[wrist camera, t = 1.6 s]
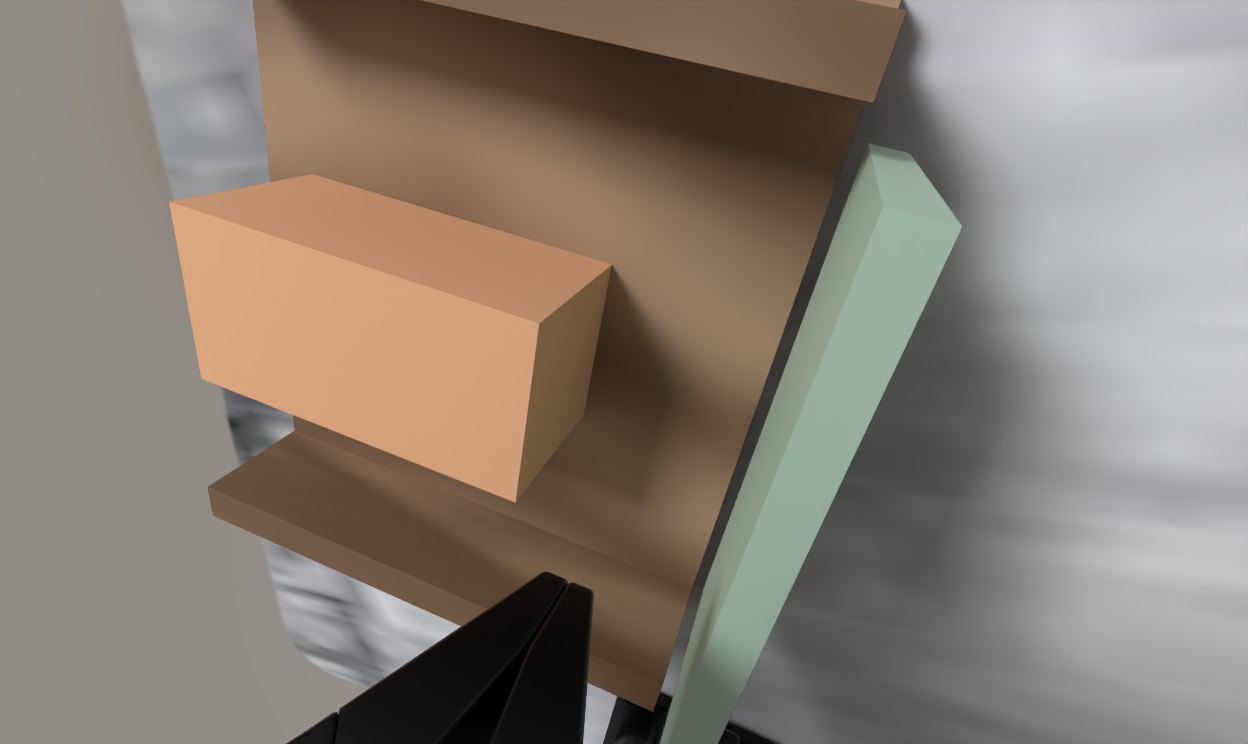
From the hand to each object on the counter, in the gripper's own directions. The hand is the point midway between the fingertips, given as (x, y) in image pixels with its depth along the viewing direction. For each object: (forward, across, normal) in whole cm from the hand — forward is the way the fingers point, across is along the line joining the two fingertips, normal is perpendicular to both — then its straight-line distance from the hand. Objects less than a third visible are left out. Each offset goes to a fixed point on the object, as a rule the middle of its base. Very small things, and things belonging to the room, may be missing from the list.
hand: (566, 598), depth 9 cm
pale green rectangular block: (+8, -2, 0) cm, 8 cm away
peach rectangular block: (+8, +7, 0) cm, 10 cm away
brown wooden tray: (+9, +6, 0) cm, 11 cm away
